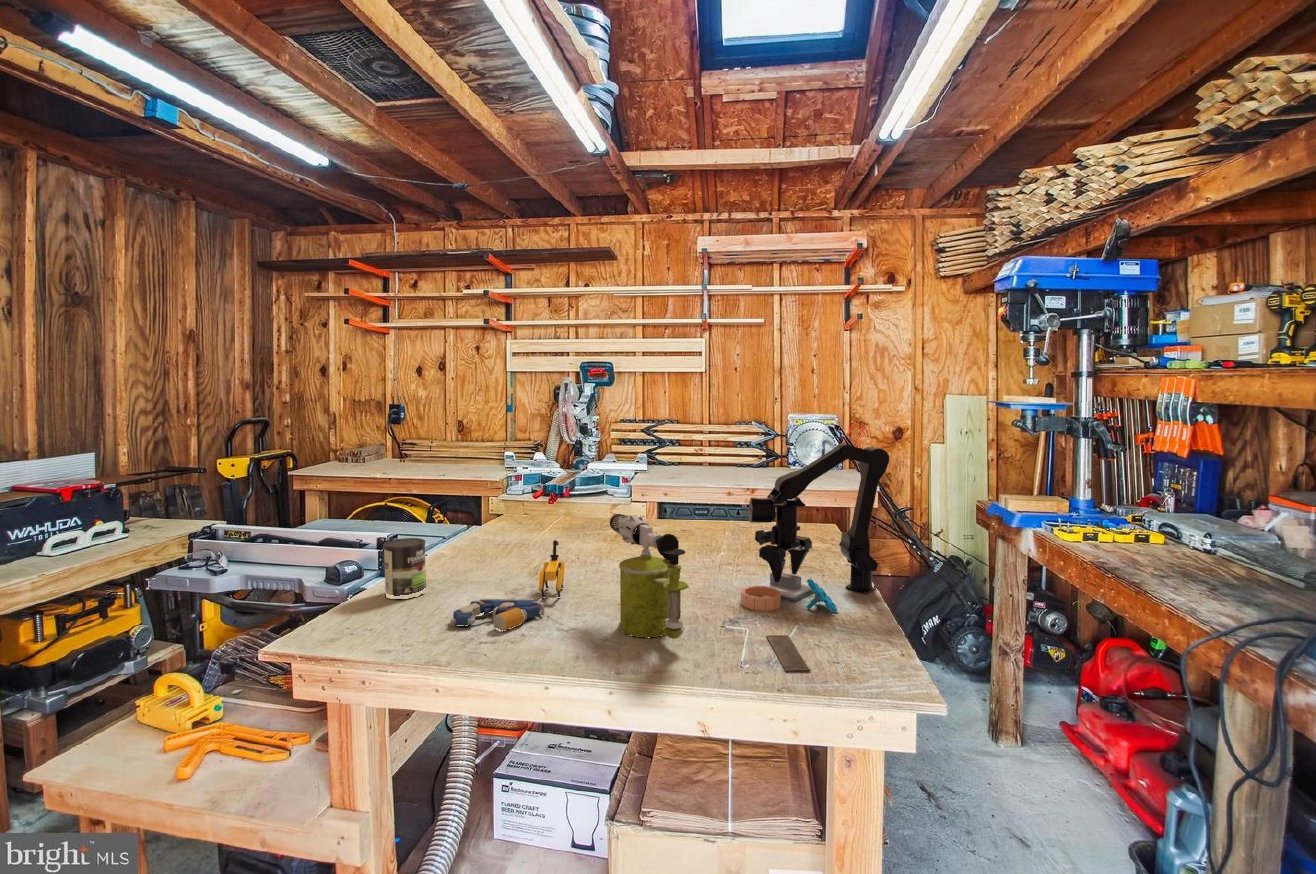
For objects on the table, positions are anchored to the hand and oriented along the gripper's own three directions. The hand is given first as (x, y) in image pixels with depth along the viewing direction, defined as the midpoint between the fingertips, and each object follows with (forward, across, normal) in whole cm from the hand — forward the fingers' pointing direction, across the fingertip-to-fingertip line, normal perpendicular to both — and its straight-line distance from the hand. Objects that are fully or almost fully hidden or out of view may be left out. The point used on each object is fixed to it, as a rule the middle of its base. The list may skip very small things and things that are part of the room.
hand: (785, 578), depth 160 cm
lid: (+3, 0, 0) cm, 3 cm away
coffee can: (+3, +73, -73) cm, 103 cm away
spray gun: (+4, +66, -38) cm, 77 cm away
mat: (+3, 0, 0) cm, 3 cm away
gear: (+4, +7, +14) cm, 16 cm away
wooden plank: (+4, +35, +21) cm, 41 cm away
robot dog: (+3, +45, -45) cm, 64 cm away
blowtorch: (+3, +45, -10) cm, 46 cm away
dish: (+3, +14, +1) cm, 14 cm away
